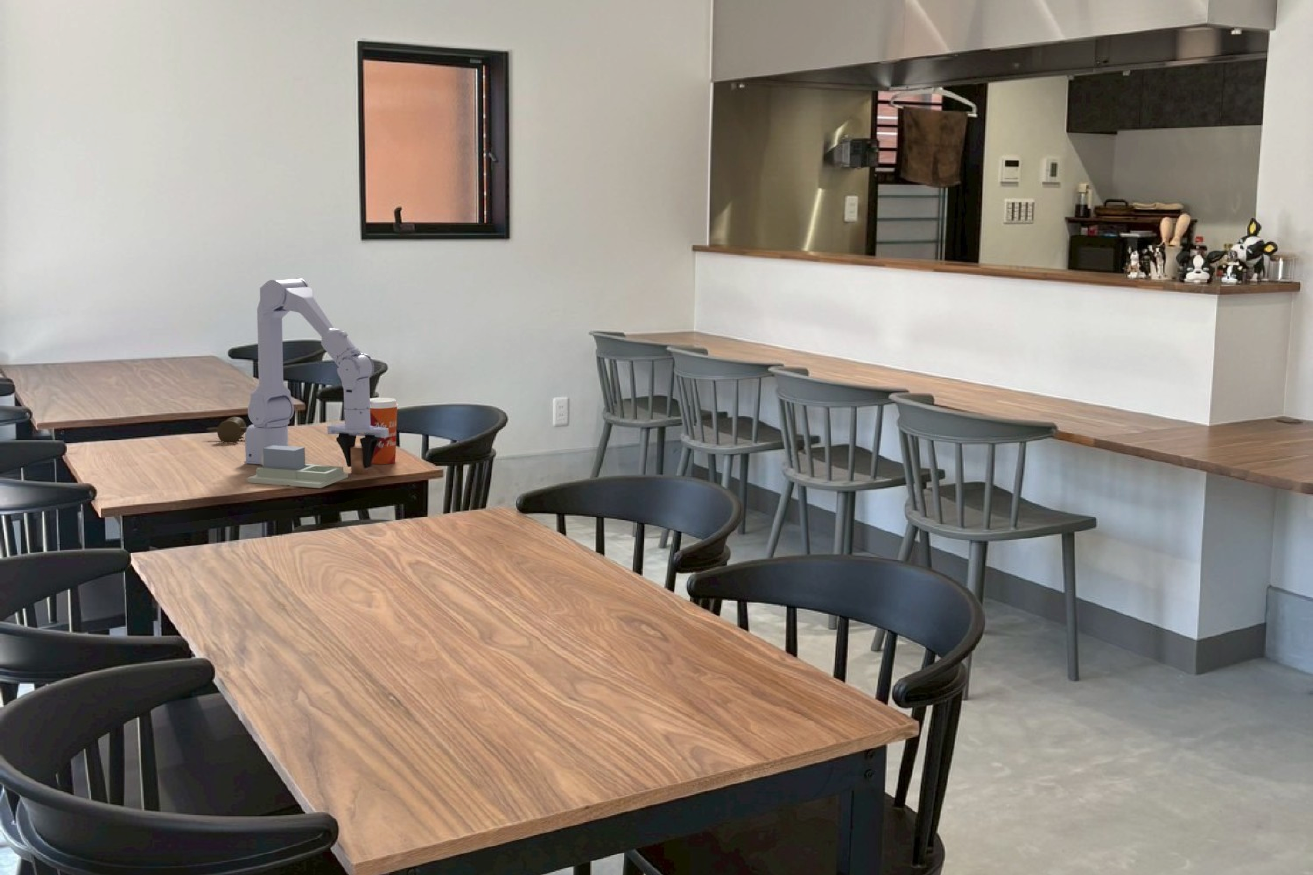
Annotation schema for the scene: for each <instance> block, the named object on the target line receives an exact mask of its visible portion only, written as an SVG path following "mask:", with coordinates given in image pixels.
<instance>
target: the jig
mask: <svg viewBox="0 0 1313 875" xmlns="http://www.w3.org/2000/svg"><path fill="white" fill-rule="evenodd" d="M255 470H256V474H255V475H251V476H249V477H247V479H246V480H247V483H251V484H264V485H266V484H267V485H276V486H277V485H278V486H287V485H290V486H289V487H302V488H313V489H322V488H325V487H326V486H327V487H328V486H329V485H333V484H334V483H337V482H339V481H342V480H345V479H347V478H349V472H345V470H344V466H336V465H335V466H334V465H322V464H321V465H320V464H311V463H305V468H304V469H301V470H287V469H274V468H264V467H261V466H260V467H257V468H256V469H255Z"/></svg>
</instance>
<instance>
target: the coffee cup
mask: <svg viewBox="0 0 1313 875" xmlns="http://www.w3.org/2000/svg"><path fill="white" fill-rule="evenodd" d="M398 407H399V403H398V402H397V399H396V398H392V397H372V398H371V397H370V422H371V426H375V427H381V428H389V437H386V438H381V437H380V440H379V442H378V444H377V446H376V448H375V451H374V454H373V458H372V462H371V465H390V464H394V463H395V462H396V456H397V455H396V452H397V428H398V426H397V423H398Z"/></svg>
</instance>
